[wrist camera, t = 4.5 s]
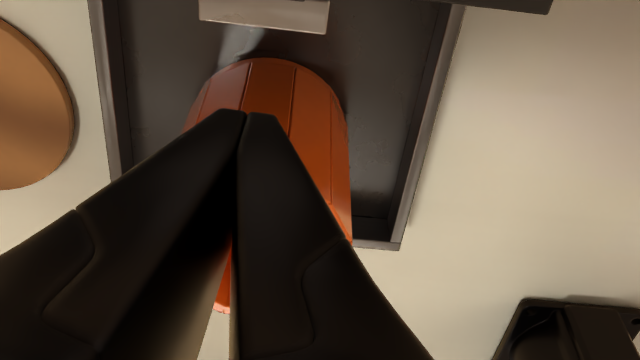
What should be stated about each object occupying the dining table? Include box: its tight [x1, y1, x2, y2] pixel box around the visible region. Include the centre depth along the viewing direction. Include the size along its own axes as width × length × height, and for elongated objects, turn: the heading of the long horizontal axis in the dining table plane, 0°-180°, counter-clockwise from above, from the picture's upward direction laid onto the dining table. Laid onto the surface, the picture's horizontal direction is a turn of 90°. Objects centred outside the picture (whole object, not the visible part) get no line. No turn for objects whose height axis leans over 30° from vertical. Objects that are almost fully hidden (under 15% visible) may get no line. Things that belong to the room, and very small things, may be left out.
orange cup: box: [181, 57, 353, 314], centre depth 20 cm, size 6×6×7 cm
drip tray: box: [87, 0, 467, 251], centre depth 22 cm, size 12×12×2 cm
